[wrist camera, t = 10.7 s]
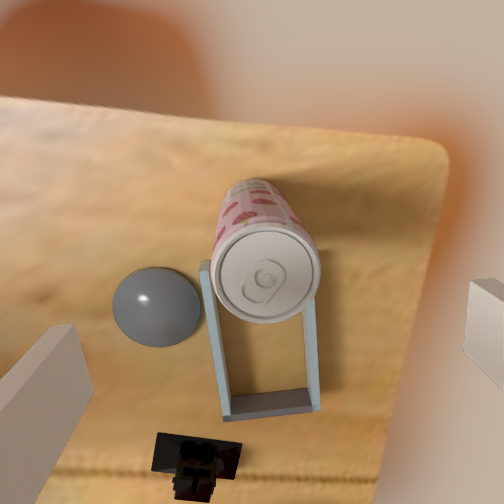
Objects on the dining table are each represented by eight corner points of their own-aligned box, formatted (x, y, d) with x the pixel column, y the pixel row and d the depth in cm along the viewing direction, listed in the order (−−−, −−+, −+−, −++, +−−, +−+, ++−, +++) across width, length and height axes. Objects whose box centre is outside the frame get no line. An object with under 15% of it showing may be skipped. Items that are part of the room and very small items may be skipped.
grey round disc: (124, 348, 36) (123, 351, 35) (105, 272, 33) (103, 274, 32) (206, 338, 36) (206, 342, 35) (193, 262, 33) (192, 264, 33)
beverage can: (215, 237, 32) (200, 321, 18) (225, 172, 31) (217, 210, 17) (278, 247, 33) (310, 336, 19) (291, 184, 31) (338, 230, 17)
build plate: (258, 435, 41) (261, 471, 36) (245, 483, 43) (247, 523, 38) (145, 420, 39) (134, 457, 35) (138, 471, 41) (127, 511, 37)
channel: (224, 404, 38) (223, 422, 36) (201, 261, 33) (198, 271, 31) (315, 393, 38) (320, 410, 36) (306, 249, 33) (312, 258, 31)
